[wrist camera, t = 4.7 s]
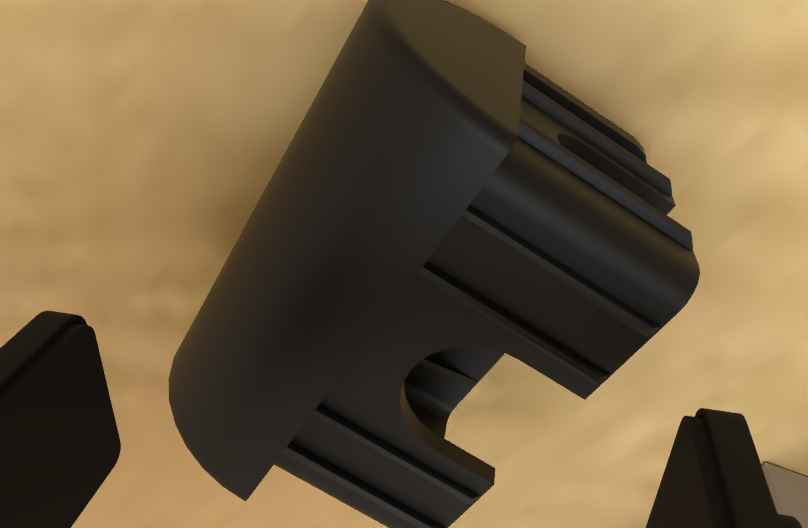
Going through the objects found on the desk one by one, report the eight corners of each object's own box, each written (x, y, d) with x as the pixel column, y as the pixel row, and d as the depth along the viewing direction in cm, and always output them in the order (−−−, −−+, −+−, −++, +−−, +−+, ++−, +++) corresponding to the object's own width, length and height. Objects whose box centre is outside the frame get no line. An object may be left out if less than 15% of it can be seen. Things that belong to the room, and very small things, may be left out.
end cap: (411, -43, 15) (331, 18, 10) (669, 133, 16) (738, 286, 10) (234, 272, 20) (113, 437, 15) (438, 393, 21) (400, 592, 16)
